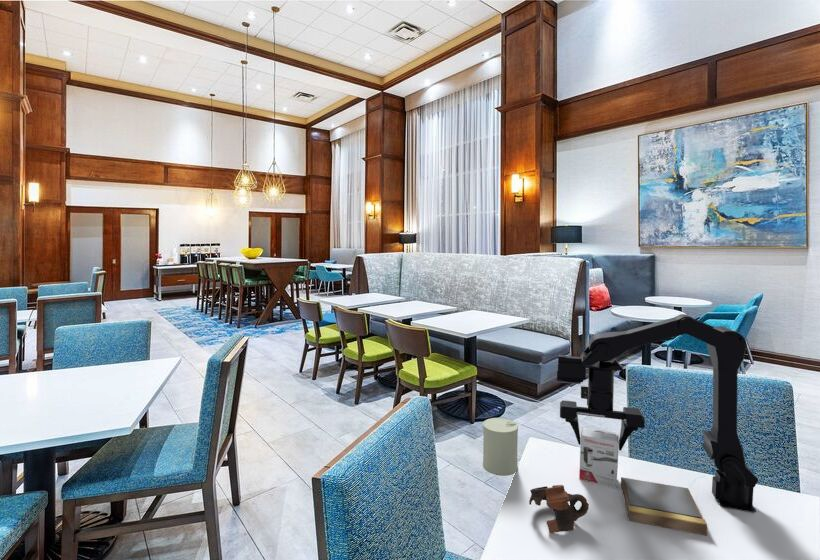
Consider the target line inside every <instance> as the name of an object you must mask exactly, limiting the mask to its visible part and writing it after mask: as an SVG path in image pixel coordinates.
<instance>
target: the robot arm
mask: <svg viewBox="0 0 820 560" xmlns="http://www.w3.org/2000/svg"><path fill="white" fill-rule="evenodd" d="M683 335H689V336H690V337H693V338H695V339H697V340H700V341H701V342H704V343H706V346H707V352H708V355H709V358H710V360H711V364H712V369H713V370H712V427H711V428H710V430H709V431H706V430H702V437H703V443H702V444H701V447H702V448H703V450H704V452H706V455H707V456H708V457H709V459H710V461H711V462H712V463H713V464H714V466H715V468H716V469H715V475H713V476H712V479H711V480H712V481H711V482H712V484H711V493H712V496H713V497H714V498H715V500H716V501H717V503H718V504H719V506H720V507H723V508H728V509H734V510H739V511H744V512H751V513H756V512H757V510H756V508H755V507H754V505H753V504H754V502H753V501H754V488H755V487H756V485H757V483H758V482H759V478H758V477H757V476H756V474H755V473H754V472H753V471H752V470H751V468H750V467H749V466H748V464H746V459H745V454H744V450H743V447H742V443H741V441H740V438H739V435H738V373H739V369H740V367H741V366H742V364H743V362H744V360H745V356H746V355H745V354H746V351H747V345H748V343H747V339H746V338H745V337H744V336H743V335H742V334H741V333H739V332H737V331H735V330H733V329H731V328H730V327H727V326H723V325H719V326H713V325H711V324H708V323H705V322H703V321H700V320H698V319H695V318H694V317H692V316H690V315H688V314H686V313H684V314H683V313H682V314H678V315H675V316H674V317H669V318H668V319H664V320H660V321H657V322H654V323H650V324H646V325H642V326H639V327H636V328H631V329H628V330H624V331H607V332H598V333H595V334H593V335H591V337H590V338H589V341H588V346H587V347H586V348H585V349H584V350H583V351H582V353H580V356H573V355H564V354H559V355H558V357H557V365H556V382H557V383H564V384H565V383H566V384H574V385H581V384H582V383H584V381H586V379H587V382H588V383H587V386H583V385H582V386H580V399H585V400H586V405H587V406H586V407H585V406H584V407H583V406H577V401H573V400H572V401H571V400H561V401H560V402H559V418H561V419H562V420H563V419H564V420H565V422H566V423H569V425H570V426H571V429H572V430H573V432H574V434H575V435H574V436H575V439H576V440H577V443H578V445H580V446H581V431H580V423H579V416H580V415H581V416H587V417H588V416H589V417H595V418H606V419H611V420H612V419H613V420H621V421H620V422H621V423H620V424H621V425H620V430H619V431H620V432H619V445H618V451H622V450H623V447H624V446H625V444H626V442H627V441H628V438H629V437H630V436H631V435H632V434H633V432H634V431H635V432H636V431H639V429H644V428H645V426H646V425H645V424H646V423H645V415H644V414H643V412H642V410H641V409H640V408H636V407H635V408H634V407H629V406H628V407H626V406H624V407H623V408H622V411H619V410H614V393H615V392H614V387H615V386H614V384H615V371H620V372H623V370H624V367H623V365H622V363H620V362H619V361H617V358H619V356H622V355H624V354H625V353H627V352H628V351H630V350H633V349H635V348H638V347H639V348H640V347H642V346H646V345H648V344H649V345H650V344H653V343H657V342H661V341H665V340H668V339H671V338H675V337H679V336H683ZM587 369H588V377H587V378H586V376H587V374H586V373H587ZM578 415H579V416H578Z"/></svg>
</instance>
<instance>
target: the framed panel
mask: <svg viewBox="0 0 820 560" xmlns="http://www.w3.org/2000/svg"><path fill="white" fill-rule="evenodd" d="M620 487H621V491H622V495H623V502H624V505H625V509H626V513H627V518H628V519H627V520H628V521H630V522H635V523H640V524H645V525H651V526H656V527H661V528H666V529H671V530H676V531H681V532H687V533H692V534H697V535H701V536H707V535H708V524H707V522H706V519H704V517H703V515H702V513H701V511H700V509H699V506H698V505H697V503H696V501H695V499H694V497H693V495H692V493H691V491H690V489H689V487H684V486H683V487H682V486H678V485H677V486H675V485H671V484H665V483H660V482H659V483H658V482H653V481H647V480H642V479H641V480H640V479H635V478H627V477H620Z"/></svg>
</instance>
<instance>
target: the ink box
mask: <svg viewBox="0 0 820 560" xmlns="http://www.w3.org/2000/svg"><path fill="white" fill-rule="evenodd" d="M619 438H620V434H618V433H616V432H611V431H606V430H601V429H595V428H590V427H583V428H582V427H581V431H580V446H579V447H580V450H579V451H580V452H579V471H578V472H579V475H578V476H579V477H578V479H579V480H581V481H586V482H590V483H593V484H598V485H603V486H605V487H609V488H610V487H611V488H615V489H616V488H617V482H618V481H617V479H618V466H619Z"/></svg>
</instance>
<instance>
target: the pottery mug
mask: <svg viewBox="0 0 820 560" xmlns="http://www.w3.org/2000/svg"><path fill="white" fill-rule="evenodd" d="M533 501H534V503H535V505H536V506H539V507H540V506H541V503H542V501H545V502H546V503H545V504H546V506H547V508H549V509H550V510H552V512H553V515H554V519H549V520H548V519H547V520H546V526H547V529H548V532H549V533H552V534H553V533H554V534H555V533H560V532H561V533H562V532H570V531H573V530H574V529H575V522H577V521H578V520H579V518H581V517H584V516H585V515H587V513H588V511H589V507H590V506H589V505H590V504H589V503H588V500H587V498H586V497H585V496H584V495H582V494H580V493H576V494H571V493H568V492H567V491H566V490H565V486H564V485H563V484H557V485H552V486H551V487H548V486H539V487H534V488H531V489H530V497H529V501H528V505H532V502H533ZM577 502H580V503H581V506H580V508H579V509H577V508H576V507H575V505H576V504H577Z"/></svg>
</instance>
